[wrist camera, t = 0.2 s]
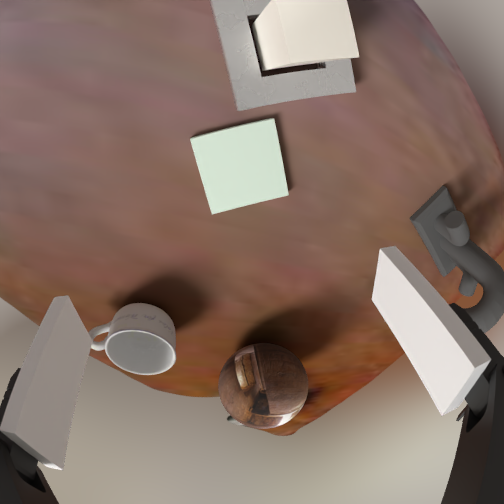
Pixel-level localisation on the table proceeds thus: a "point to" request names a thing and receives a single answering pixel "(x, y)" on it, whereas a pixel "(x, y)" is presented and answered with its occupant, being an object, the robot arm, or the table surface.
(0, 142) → the table surface
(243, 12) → the socket plate
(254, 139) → the pad
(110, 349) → the teacup
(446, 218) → the faucet
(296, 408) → the bronze metal ball
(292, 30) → the peg
